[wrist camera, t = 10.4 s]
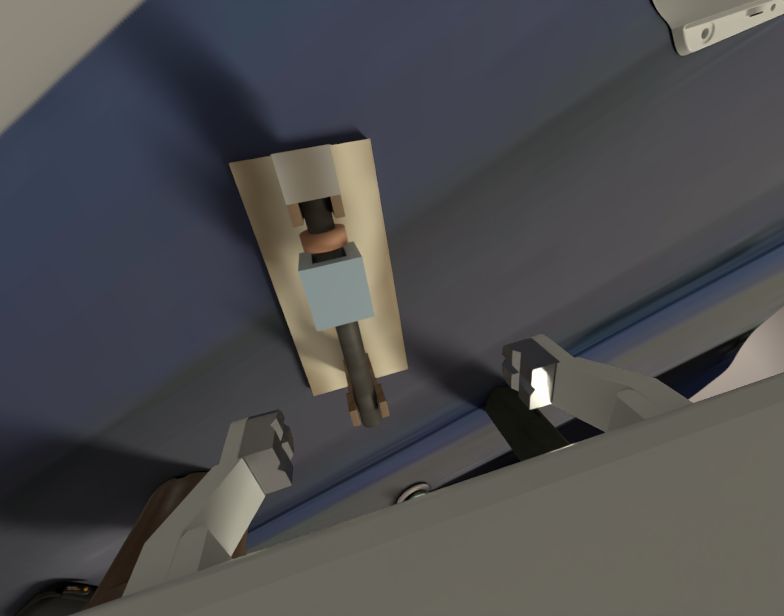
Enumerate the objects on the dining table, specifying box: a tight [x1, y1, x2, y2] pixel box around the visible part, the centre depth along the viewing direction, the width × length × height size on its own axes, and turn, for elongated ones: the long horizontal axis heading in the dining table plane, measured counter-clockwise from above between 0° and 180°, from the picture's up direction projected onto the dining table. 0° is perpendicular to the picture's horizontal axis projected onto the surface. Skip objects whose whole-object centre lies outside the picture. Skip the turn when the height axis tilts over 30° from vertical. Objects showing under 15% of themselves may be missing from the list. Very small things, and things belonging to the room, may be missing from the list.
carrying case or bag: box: [14, 583, 97, 616], centre depth 45 cm, size 11×3×15 cm
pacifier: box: [397, 484, 430, 504], centre depth 51 cm, size 7×6×6 cm
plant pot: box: [81, 472, 248, 611], centre depth 35 cm, size 16×16×16 cm
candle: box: [485, 387, 570, 461], centre depth 38 cm, size 5×5×25 cm
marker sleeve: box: [298, 241, 375, 331], centre depth 25 cm, size 5×5×5 cm
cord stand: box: [229, 139, 408, 428], centre depth 30 cm, size 12×26×10 cm, turn 9°
